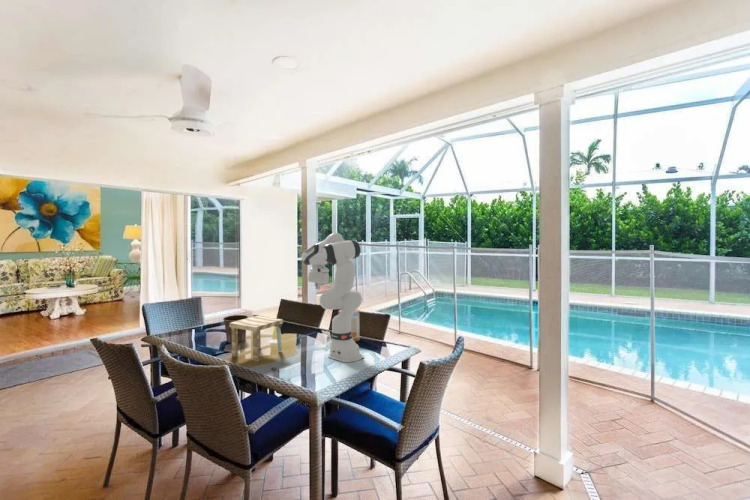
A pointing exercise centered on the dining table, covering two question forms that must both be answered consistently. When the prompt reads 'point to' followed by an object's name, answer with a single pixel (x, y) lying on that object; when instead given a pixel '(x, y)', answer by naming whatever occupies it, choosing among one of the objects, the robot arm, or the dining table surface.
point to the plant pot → (229, 330)
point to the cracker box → (354, 325)
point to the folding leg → (279, 338)
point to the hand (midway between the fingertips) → (317, 289)
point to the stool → (255, 326)
